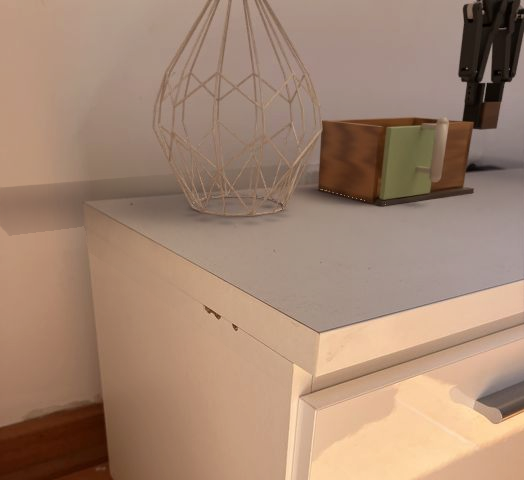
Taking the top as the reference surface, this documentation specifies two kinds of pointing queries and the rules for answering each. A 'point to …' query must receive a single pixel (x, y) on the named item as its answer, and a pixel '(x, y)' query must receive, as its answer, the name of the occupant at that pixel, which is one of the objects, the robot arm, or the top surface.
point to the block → (488, 115)
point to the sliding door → (413, 159)
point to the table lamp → (193, 157)
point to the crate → (372, 153)
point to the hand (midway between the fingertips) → (479, 126)
